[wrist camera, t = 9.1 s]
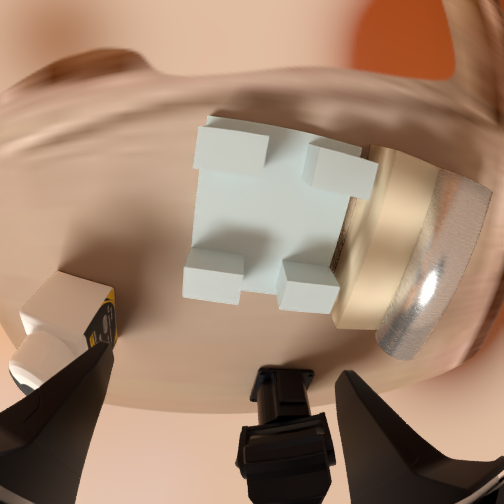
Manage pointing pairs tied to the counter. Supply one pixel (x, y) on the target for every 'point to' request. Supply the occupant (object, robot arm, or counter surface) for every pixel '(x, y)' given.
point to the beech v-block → (382, 238)
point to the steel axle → (434, 264)
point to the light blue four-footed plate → (270, 213)
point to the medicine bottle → (61, 327)
